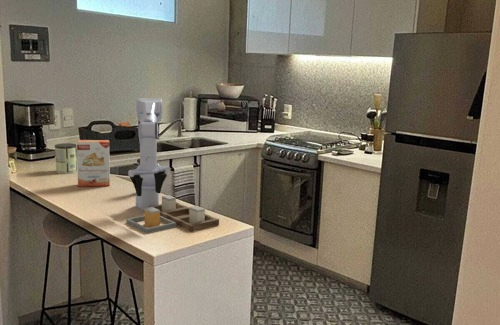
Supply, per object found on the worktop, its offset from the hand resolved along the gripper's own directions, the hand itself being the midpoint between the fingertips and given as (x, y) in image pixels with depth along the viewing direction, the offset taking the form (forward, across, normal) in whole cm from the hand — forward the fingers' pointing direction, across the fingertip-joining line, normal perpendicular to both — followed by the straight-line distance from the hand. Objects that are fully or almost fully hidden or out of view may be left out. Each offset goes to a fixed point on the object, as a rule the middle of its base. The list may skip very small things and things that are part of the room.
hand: (148, 194), depth 170 cm
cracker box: (+10, +8, +62) cm, 63 cm away
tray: (+10, -2, -5) cm, 12 cm away
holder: (+10, +11, -5) cm, 16 cm away
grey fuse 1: (+10, +11, +4) cm, 15 cm away
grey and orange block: (+10, -2, -6) cm, 11 cm away
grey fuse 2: (+10, +11, -14) cm, 20 cm away
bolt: (+10, +20, +38) cm, 44 cm away
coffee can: (+10, +9, +97) cm, 98 cm away
